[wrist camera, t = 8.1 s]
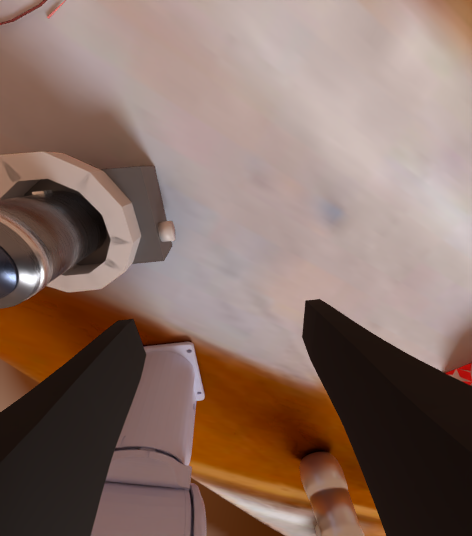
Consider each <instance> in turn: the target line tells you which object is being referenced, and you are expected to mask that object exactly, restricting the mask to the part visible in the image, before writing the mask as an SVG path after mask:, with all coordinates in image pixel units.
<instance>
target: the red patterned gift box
mask: <svg viewBox="0 0 472 536" xmlns="http://www.w3.org/2000/svg"><path fill="white" fill-rule="evenodd" d="M445 374H448V375H450V376H452V377H454V378H456V379H458V380H460V381H462V382H464V383H466V384H469V385H471V386H472V363H470V364H467V365H465V366H462V367H460V368H457V369H455V370H452V371H450V372H447V373H445Z"/></svg>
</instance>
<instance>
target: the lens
mask: <svg viewBox="0 0 472 536" xmlns="http://www.w3.org/2000/svg"><path fill="white" fill-rule="evenodd" d="M32 194H33V195H29V196H23V197H17V198H10V199H4V200H0V308H7V307H11V306H15V305H17V304H19V303H21V302H22V301H24V300H27V299H29V298H30V297H32V296H33V295H35V294H36V293H38V292H39V291H40V290H42V289H43V288H44V287H45V286H47V284H48V283H50V282H51V281H53V280H54V279H56V278H57V277H58V276H60V275H61V274H63V273H64V272H66V271H67V270H68V269H70V268H71V267H73V266H74V265H76V264H77V263H78V262H80V261H81V260H83V259H84V258H86V257H87V256H89V255H90V254H91V253H93V252H94V251H96V250H97V249H99V248H100V247H101V246H102V244H103V243H104V241H105V238H106V225H105V222H104V219H103V217H102V215H101V213H100V212H99V211H98V210H97V209H96V208H95V207H94V206H93V205H92V204H91V203H90V202H89V201H88V200H87V199H86V198H84V197H82V196H80V195H78V194H75V193H73V192H68V191H54V192H52V190H44V191H36V192H32Z"/></svg>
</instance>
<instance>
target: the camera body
mask: <svg viewBox="0 0 472 536" xmlns="http://www.w3.org/2000/svg"><path fill="white" fill-rule="evenodd" d="M44 190H52V192H54V191H68V192H73V193H75V194H78V195H80V196H82V197H84V198H86V199H87V200H88V201H89V202H90V203H91V204H92V205H93V206H94V207H95V208H96V209H97V210H98V211H99V212H100V213H101V215H102V217H103V219H104V222H105V225H106V238H105V241H104V243H103V244H102V246H101V247H100V248H99V249H97V250H96V251H94V252H93V253H91V254H90V255H89V256H87V257H86V258H84V259H83V260H81V261H80V262H78V263H77V264H76V265H74V266H73V267H71V268H70V269H68V270H67V271H66V272H64V273H63V274H61V275H60V276H58V277H57V278H56V279H54V280H53V281H51V282H50V283H48V284H47V286H48V287H51V288H55V289H58V290H61V291H65V292H78V291H88V290H98V289H102V288H104V287H105V286H106V285H108V284H109V283H110V282H112V281H113V280H114V279H116V278H117V277H119V276H120V275H121V274H123V273H124V272H125V271H126V270H127V269H128V268H129V267H130V265H131V264H135V263H146V262H156V261H164V260H165V258H166V256H167V254H168V253H169V251H170V249H171V247H172V242H171V241H175V228H174V224H173V222H172V221H167V220H166V215H165V211H164V206H163V202H162V197H161V193H160V188H159V184H158V179H157V175H156V170H155V166H138V167H126V168H113V169H101V170H100V169H98V168H95V167H93V166H91V165H89V164H86V163H84V162H82V161H80V160H78V159H75V158H73V157H71V156H69V155H67V154H64V153H57V152H44V151H42V152H29V153H16V154H3V155H0V200H4V199H10V198H17V197H23V196H29V195H33V194H32V192H36V191H44Z"/></svg>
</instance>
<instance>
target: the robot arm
mask: <svg viewBox="0 0 472 536" xmlns="http://www.w3.org/2000/svg"><path fill="white" fill-rule="evenodd" d="M302 338H303V340H304V343H305V346H306V349H307V352H308V354H309V357H310V360H311V362H312V364H313V366H314V368H315V370H316V372H317V374H318V376H319V378H320V380H321V382H322V384H323V386H324V388H325V390H326V391H327V393H328V395H329V397H330V399H331V401H332V403H333V405H334V407H335V409H336V411H337V413H338V415H339V417H340V419H341V422H342V424H343V426H344V428H345V430H346V433H347V435H348V437H349V440H350V442H351V445H352V447H353V450H354V452H355V455H356V457H357V460H358V462H359V465H360V467H361V470H362V472H363V475H364V477H365V480H366V483H367V485H368V488H369V490H370V493H371V495H372V498H373V501H374V503H375V506H376V509H377V511H378V514H379V517H380V519H381V522H382V525H383V528H384V530H385V533H386V536H472V386H471V385H469V384H466V383H464V382H462V381H460V380H458V379H456V378H454V377H452V376H450V375H448V374H445V373H443V372H441V371H440V370H438V369H436V368H434V367H432V366H430V365H428V364H426V363H424V362H422V361H420V360H418V359H416V358H414V357H412V356H411V355H409V354H407V353H405V352H403V351H402V350H400V349H398V348H396V347H395V346H393V345H391V344H390V343H388V342H386V341H384V340H383V339H381V338H379V337H378V336H376V335H374V334H373V333H371V332H370V331H368V330H366V329H365V328H363V327H362V326H360V325H359V324H357V323H355V322H354V321H352V320H351V319H349V318H348V317H346V316H345V315H343V314H342V313H340V312H339V311H337V310H336V309H334V308H333V307H331V306H330V305H328V304H327V303H325V302H324V301H322V300H320V299H317V300H308V301H306V302H305V313H304V324H303V335H302ZM188 349H190V350H188ZM204 398H205V394H204V389H203V385H202V380H201V376H200V372H199V367H198V363H197V358H196V354H195V349H194V345H193V343H192V342H181V343H172V344H163V345H154V346H145V347H143V344H142V341H141V339H140V336H139V333H138V331H137V328H136V325H135V322H134V320H133V319H129V320H120V321H117V322H116V323H114V324H113V325H112V326H110V327H109V328H108V329H107V330H105V331H104V332H103V333H102V334H101V335H99V336H98V337H97V338H96V339H95V340H93V341H92V342H91V343H90V344H89V345H87V346H86V347H85V348H84V349H82V350H81V351H80V352H79V353H78V354H76V355H75V356H74V357H73V358H72V359H70V360H69V361H68V362H67V363H65V364H64V365H63V366H62V367H60V368H59V369H58V370H56V371H55V372H54V373H53V374H51V375H50V376H49V377H47V378H46V379H45V380H44V381H42V382H41V383H40V384H39V385H37V386H36V387H35V388H33V389H32V390H31V391H29V392H28V393H27V394H25V395H24V396H23V397H21V398H20V399H19V400H17V401H16V402H14V403H13V404H12V405H10V406H9V407H7V408H6V409H5V410H3V411H2V412H0V536H206V513H205V506H204V502H203V499H202V497H201V494H200V491H199V488H198V486H197V485H196V484H193V483H190V482H191V471H192V467H191V466H188V465H189V463H190V459H191V453H192V442H193V431H194V421H195V410H196V401H200V400H203V399H204Z"/></svg>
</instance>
